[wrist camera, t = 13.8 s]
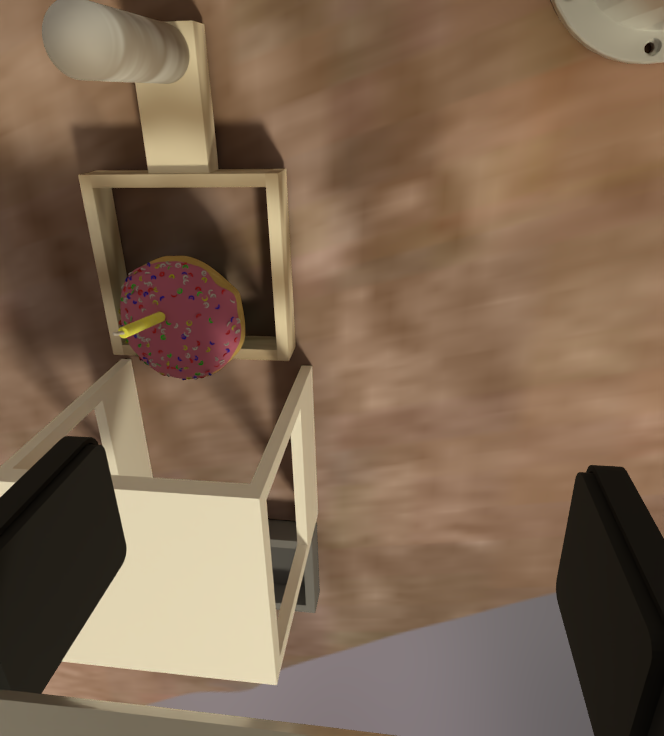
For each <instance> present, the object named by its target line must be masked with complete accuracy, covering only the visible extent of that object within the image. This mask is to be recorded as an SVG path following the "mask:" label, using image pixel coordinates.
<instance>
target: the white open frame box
mask: <svg viewBox="0 0 664 736" xmlns="http://www.w3.org/2000/svg"><path fill="white" fill-rule="evenodd" d="M93 409H94V410H95V414H96V419H97V423H98V428H99V432H100V437H101V441H102V446H103V447H104V448H105V451H106V455H107V460H108V464H109V469H110V473H111V478H112V482H113V487H114V491H115V496H116V500H117V505H118V509H119V514H120V519H121V523H122V528H123V532H124V537H125V541H126V547H127V551H126V557H125V560H124V563H123V565H122V566H121V568H120V570H119V571H118V573H117V574H116V576H115V577H114V579H113V581H112V582H111V584H110V585H109V587H108V589H107V590H106V592H105V593H104V595H103V596H102V598H101V600H100V601H99V603H98V604H97V606H96V608H95V609H94V611H93V612H92V614H91V616H90V617H89V619H88V620H87V622H86V623H85V625H84V627H83V628H82V630H81V631H80V633H79V635H78V636H77V638H76V639H75V641H74V642H73V644H72V646H71V647H70V649H69V650H68V652H67V654H66V655H65V657H64V658H63V660H62V662H71V663H80V664H89V665H98V666H107V667H116V668H126V669H135V670H144V671H153V672H162V673H171V674H180V675H189V676H198V677H207V678H216V679H226V680H235V681H244V682H253V683H262V684H271V685H277V682H278V677H279V673H280V669H281V665H282V661H283V657H284V653H285V649H286V644H287V640H288V636H289V632H290V628H291V624H292V620H293V615H294V611H295V607H296V603H297V599H298V595H299V590H300V586H301V582H302V578H303V574H304V570H305V566H306V561H307V557H308V553H309V549H310V545H311V541H312V537H313V532H314V528H315V524H316V520H317V516H318V501H317V476H316V452H315V428H314V403H313V379H312V366H305V365H302V366H301V368H300V370H299V372H298V375H297V377H296V379H295V382H294V384H293V386H292V389H291V391H290V393H289V396H288V398H287V400H286V402H285V405H284V407H283V409H282V412H281V414H280V416H279V419H278V421H277V423H276V426H275V428H274V430H273V432H272V435H271V437H270V439H269V442H268V444H267V446H266V449H265V451H264V453H263V456H262V458H261V460H260V462H259V465H258V467H257V469H256V472H255V474H254V476H253V479H252V481H251V483H250V484H246V483H230V482H215V481H199V480H183V479H168V478H153V475H152V470H151V464H150V459H149V454H148V448H147V443H146V437H145V432H144V427H143V421H142V416H141V410H140V405H139V399H138V394H137V389H136V383H135V378H134V372H133V367H132V362H131V359H121V360H120V361H119V362H117V363H116V364H115V365H114V366H113V367H112V368H111V369H110V370H108V371H107V372H106V373H105V374H104V375H103V376H102V377H101V378H99V379H98V380H97V381H96V382H95V383H94V384H93V385H92V386H90V387H89V388H88V389H87V390H86V391H85V392H84V393H83V394H81V395H80V396H79V397H78V398H77V399H76V400H75V401H74V402H72V403H71V404H70V405H69V406H68V407H67V408H66V409H65V410H63V411H62V412H61V413H60V414H59V415H58V416H57V417H56V418H54V419H53V420H52V421H51V422H50V423H49V424H48V425H47V426H45V427H44V428H43V429H42V430H41V431H40V432H39V433H38V434H36V435H35V436H34V437H33V438H32V439H31V440H30V441H29V442H27V443H26V444H25V445H24V446H23V447H22V448H21V449H20V450H18V451H17V452H16V453H15V454H14V455H13V456H12V457H11V458H9V459H8V460H7V461H6V462H5V463H4V464H3V465H2V466H0V497H1V496H2V495H3V494H4V493H5V492H6V491H7V490H8V489H9V488H10V487H11V486H12V485H13V484H14V483H16V482H17V481H18V480H19V479H20V478H21V477H22V476H23V475H24V474H25V473H26V472H27V471H28V470H29V469H30V468H31V467H32V466H33V465H34V464H35V463H36V462H37V461H38V460H39V459H40V458H42V457H43V456H44V455H45V454H46V453H47V452H48V451H49V450H50V449H51V448H52V447H53V446H54V445H55V444H56V443H57V442H58V441H59V440H60V439H62V438H63V437H65V436H66V435H67V434H68V433H69V432H70V431H71V430H72V429H73V428H74V427H75V426H76V425H77V424H78V423H79V422H81V421H82V420H83V419H84V418H85V417H86V416H87V415H88V414H89V413H90V412H91V411H92V410H93ZM290 436H291V448H292V464H293V480H294V497H295V513H296V529H297V548H296V551H295V555H294V559H293V562H292V566H291V570H290V573H289V577H288V581H287V585H286V588H285V592H284V596H283V599H282V603H281V607H280V610H279V614H278V618H277V617H276V606H275V594H274V582H273V571H272V559H271V548H270V536H269V525H268V513H267V502H266V500H267V497H268V494H269V492H270V489H271V486H272V484H273V481H274V478H275V476H276V473H277V471H278V468H279V465H280V463H281V460H282V457H283V455H284V452H285V449H286V447H287V444H288V441H289V439H290Z"/></svg>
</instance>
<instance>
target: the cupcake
mask: <svg viewBox="0 0 664 736" xmlns="http://www.w3.org/2000/svg"><path fill="white" fill-rule="evenodd" d="M130 273H131V274H130ZM130 273H129V274H128V275H129V276H128V277H127V278H126V280H125V283H124V285H123V286H122V287H121V289H122V293H121V302H120V309H119V311H120V312H119V311H118V312H119V314H121V315H120V319H121V320H120V321H119V325H121V327H120V328H119V330H118V332H113V333H112V334H113V335H114V336H118V335H119V336H120V337H121V338H126V343H129V345H130V346H131V348H132V349H133V350H134V351H135V353H136V355H137V356H139V358H140V360H143V361H144V363H145V364H147V365H149V366H150V367H151V368H153V369H154V370H156V371H157V372H159V373H160V374H161V375H164V376H166V375H167V376H168V377H170V376H172V377H176V378H182V380H186V379H198V378H204V377H205V376H209V375H210V376H211V375H212V374H214V373H216V372H218V371H219V370H220V369H222V368H223V367H224V366H225V365H226V364H227V363H228V362H229V361H230V360H231V359H232V358H233V357H234V356H235V355H236V354H237V353H238V352H239V351H240V349H241V347H242V345H243V343H244V339H245V319H244V312H243V307H242V301H241V297H240V294H239V292H238V290H237V289H236V288H235V287H234V286H233V285H231V284H230V283H229V282H228V281H227V280H226V279H225V278H224V277H223V276H222V275H220V274H219V273H218V272H217V271H215V270H214V269H213V268H211V267H210V266H209V265H207V264H205V263H204V262H202V261H200V260H197V259H195V258H192V257H188V256H163V257H160V258H158V259H155V260H153V261H151V262H148V263H146V264H145V265H143V266H141V267H139V268H137V269H135V270H134V271H132V272H130ZM120 322H121V323H120Z"/></svg>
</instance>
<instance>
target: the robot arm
mask: <svg viewBox="0 0 664 736" xmlns="http://www.w3.org/2000/svg"><path fill="white" fill-rule="evenodd" d="M551 3H552V5H553V7H554V9H555V11H556V13H557V15H558V18H559V19H560V21H561V22H562V23H563V25H564V26H565V27H566V29H567V30H568V31H569V33H570V34H571V35H572V36H573V37H574V38H575V39H576V40H578V41H579V42H580V43H581V44H582V45H584V46H585V47H586V48H587V49H588V50H590V51H592V52H595V53H597V54H599V55H601V56H603V57H605V58H607V59H610V60H615V61H619V62H623V63H627V64H654V63H661V62H664V0H551ZM647 43H650V44H651V45H652V49H651V51H650V52H649V53H646V52H645V51H644V47H645V45H646V44H647ZM126 551H127V547H126V541H125V537H124V532H123V528H122V523H121V519H120V514H119V509H118V505H117V500H116V496H115V491H114V487H113V482H112V478H111V473H110V469H109V464H108V460H107V455H106V451H105V448H104V447H103V446H102V445H98V442H97V441H96V440H95V439H94V438H92V437H74V436H65V437H63V438H62V439H60V440H59V441H58V442H57V443H56V444H55V445H54V446H53V447H52V448H51V449H50V450H49V451H48V452H47V453H46V454H45V455H44V456H43V457H42V458H40V459H39V460H38V461H37V462H36V463H35V464H34V465H33V466H32V467H31V468H30V469H29V470H28V471H27V472H26V473H25V474H24V475H23V476H22V477H21V478H20V479H19V480H18V481H17V482H16V483H14V484H13V485H12V486H11V487H10V488H9V489H8V490H7V491H6V492H5V493H4V494H3V495H2V496H1V497H0V736H394V735H387V734H379V733H371V732H363V731H355V730H346V729H339V728H331V727H323V726H314V725H306V724H298V723H289V722H281V721H273V720H264V719H256V718H247V717H239V716H230V715H222V714H214V713H204V712H195V711H188V710H179V709H171V708H162V707H154V706H145V705H136V704H127V703H118V702H109V701H100V700H92V699H83V698H74V697H65V696H56V695H47V694H41V693H42V692H43V690H44V689H45V687H46V685H47V684H48V682H49V681H50V679H51V677H52V676H53V674H54V673H55V671H56V669H57V668H58V666H59V665H60V663H61V662H62V660H63V658H64V657H65V655H66V654H67V652H68V650H69V649H70V647H71V646H72V644H73V642H74V641H75V639H76V638H77V636H78V635H79V633H80V631H81V630H82V628H83V627H84V625H85V623H86V622H87V620H88V619H89V617H90V616H91V614H92V612H93V611H94V609H95V608H96V606H97V604H98V603H99V601H100V600H101V598H102V596H103V595H104V593H105V592H106V590H107V589H108V587H109V585H110V584H111V582H112V581H113V579H114V577H115V576H116V574H117V573H118V571H119V570H120V568H121V566H122V565H123V563H124V560H125V557H126ZM556 594H557V600H558V604H559V608H560V612H561V615H562V619H563V623H564V626H565V630H566V634H567V637H568V641H569V645H570V648H571V652H572V656H573V659H574V663H575V666H576V670H577V674H578V677H579V681H580V685H581V689H582V692H583V696H584V699H585V703H586V707H587V710H588V714H589V718H590V721H591V725H592V729H593V732H594V736H664V538H663V537H662V535H661V533H660V531H659V529H658V527H657V526H656V524H655V522H654V520H653V518H652V517H651V515H650V513H649V511H648V509H647V507H646V506H645V504H644V502H643V500H642V498H641V497H640V495H639V493H638V491H637V489H636V487H635V486H634V484H633V482H632V480H631V478H630V477H629V475H628V473H627V471H626V470H625V469H624V468H623V467H615V466H597V465H590V466H589V467H588V469H587V472H586V473H583V472H579V473H578V474H577V476H576V479H575V484H574V490H573V495H572V500H571V506H570V511H569V516H568V522H567V527H566V532H565V538H564V543H563V549H562V554H561V559H560V565H559V570H558V575H557V582H556Z"/></svg>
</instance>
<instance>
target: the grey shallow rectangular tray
mask: <svg viewBox="0 0 664 736" xmlns="http://www.w3.org/2000/svg"><path fill="white" fill-rule="evenodd" d="M268 525H269V536H270V548H271V559H272V571H273V582H274V594H275V606H276V609H278V610H280V607H281V603H282V599H283V596H284V592H285V588H286V585H287V581H288V577H289V573H290V570H291V566H292V562H293V559H294V555H295V551H296V548H297V529H296V521H286V520H272V519H268ZM319 592H320V589H319V565H318V542H317V523H316V524H315V528H314V532H313V537H312V541H311V545H310V549H309V553H308V557H307V561H306V566H305V570H304V574H303V578H302V582H301V586H300V590H299V595H298V599H297V603H296V607H295V611H299V612H310V613H315V612H316V607H317V602H318V597H319Z"/></svg>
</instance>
